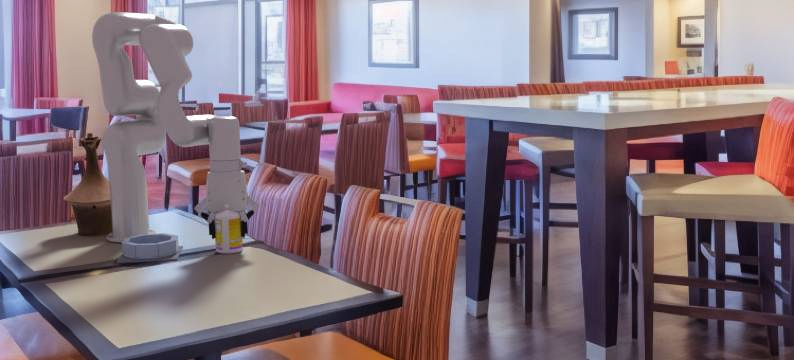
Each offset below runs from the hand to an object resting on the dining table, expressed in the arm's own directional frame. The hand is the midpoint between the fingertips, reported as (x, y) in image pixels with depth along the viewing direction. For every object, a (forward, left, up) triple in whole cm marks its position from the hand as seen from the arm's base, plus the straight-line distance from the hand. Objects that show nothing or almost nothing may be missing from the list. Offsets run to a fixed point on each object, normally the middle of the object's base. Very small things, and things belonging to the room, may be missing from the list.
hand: (228, 236), depth 206 cm
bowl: (0, -19, -3) cm, 19 cm away
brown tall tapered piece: (-32, -38, -4) cm, 49 cm away
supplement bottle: (0, 0, -4) cm, 4 cm away
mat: (0, -19, -4) cm, 19 cm away
